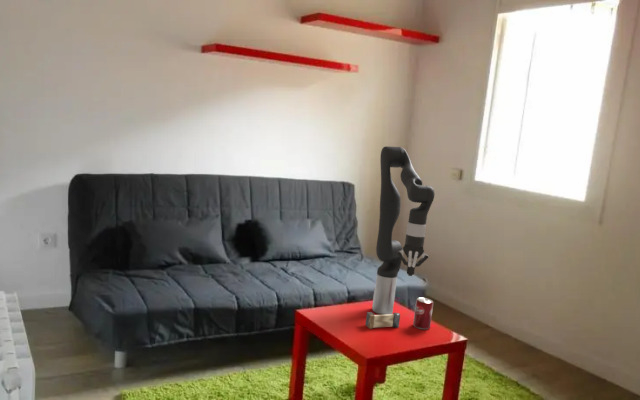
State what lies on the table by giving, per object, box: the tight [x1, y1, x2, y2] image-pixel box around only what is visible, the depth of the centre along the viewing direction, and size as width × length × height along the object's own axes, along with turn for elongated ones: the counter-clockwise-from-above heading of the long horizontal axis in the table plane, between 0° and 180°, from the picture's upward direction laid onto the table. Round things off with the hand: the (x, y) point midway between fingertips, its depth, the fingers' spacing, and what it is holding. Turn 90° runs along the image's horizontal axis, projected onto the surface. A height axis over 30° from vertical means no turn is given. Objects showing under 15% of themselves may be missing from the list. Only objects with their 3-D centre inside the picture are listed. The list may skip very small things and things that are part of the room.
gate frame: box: [365, 311, 401, 329], centre depth 239 cm, size 3×14×6 cm, turn 101°
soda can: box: [412, 297, 434, 331], centre depth 243 cm, size 7×7×12 cm
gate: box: [367, 313, 394, 329], centre depth 237 cm, size 11×2×5 cm, turn 114°
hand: (409, 275), depth 231 cm, fingers closed
